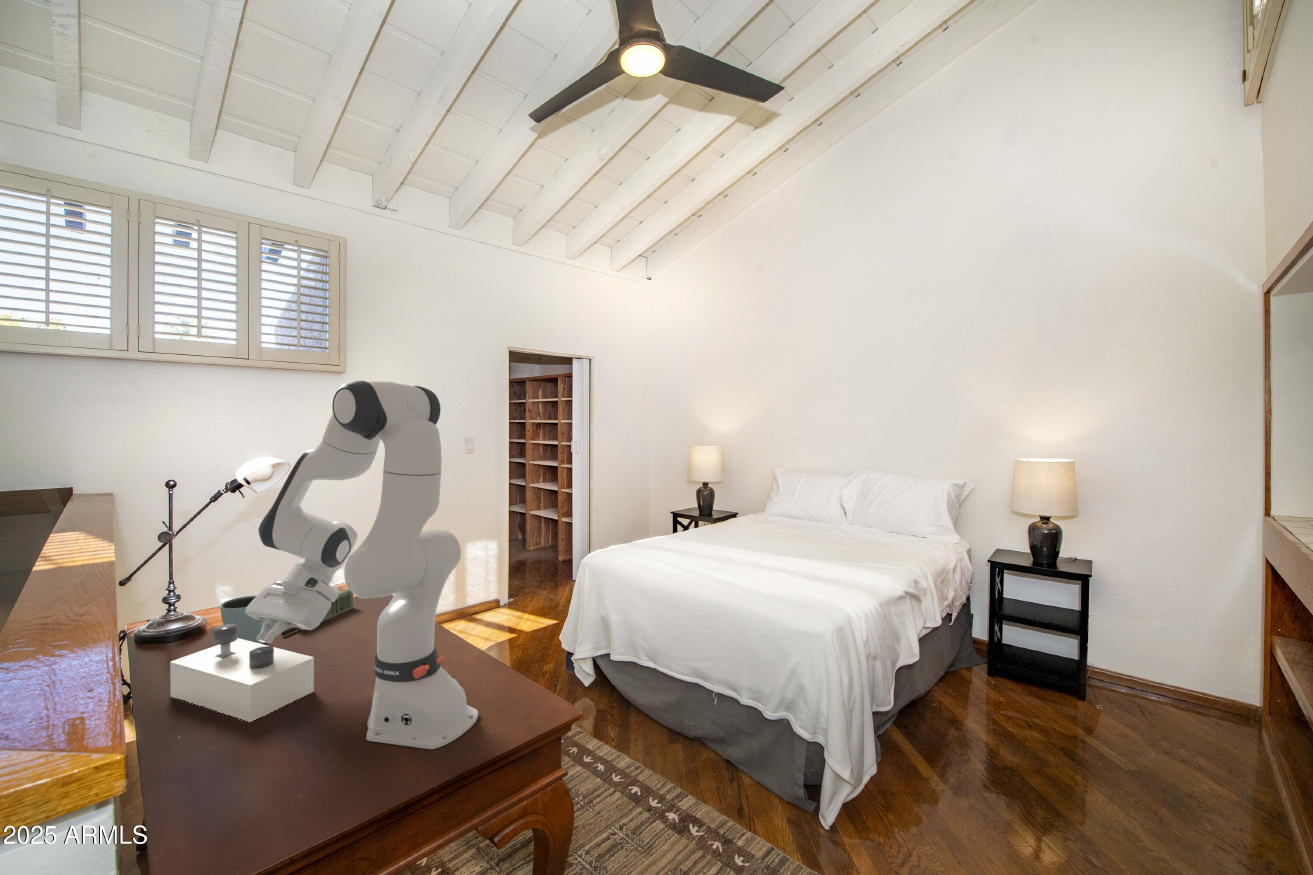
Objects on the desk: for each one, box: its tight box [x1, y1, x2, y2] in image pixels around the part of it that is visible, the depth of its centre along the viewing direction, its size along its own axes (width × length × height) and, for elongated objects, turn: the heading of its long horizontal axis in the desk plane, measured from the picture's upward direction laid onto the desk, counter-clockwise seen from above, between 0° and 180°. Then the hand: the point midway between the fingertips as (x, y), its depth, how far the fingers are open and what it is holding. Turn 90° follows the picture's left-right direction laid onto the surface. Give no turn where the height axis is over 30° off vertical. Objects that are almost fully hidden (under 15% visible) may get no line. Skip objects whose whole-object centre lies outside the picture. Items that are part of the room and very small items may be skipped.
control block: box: [169, 638, 315, 723], centre depth 123 cm, size 26×14×8 cm, turn 70°
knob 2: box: [249, 645, 274, 669], centre depth 121 cm, size 4×4×7 cm
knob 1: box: [212, 624, 238, 658], centre depth 125 cm, size 4×4×7 cm
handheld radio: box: [280, 588, 354, 637], centre depth 166 cm, size 7×3×25 cm
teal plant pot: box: [219, 595, 265, 645], centre depth 148 cm, size 10×10×12 cm
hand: (262, 641), depth 121 cm, fingers closed
